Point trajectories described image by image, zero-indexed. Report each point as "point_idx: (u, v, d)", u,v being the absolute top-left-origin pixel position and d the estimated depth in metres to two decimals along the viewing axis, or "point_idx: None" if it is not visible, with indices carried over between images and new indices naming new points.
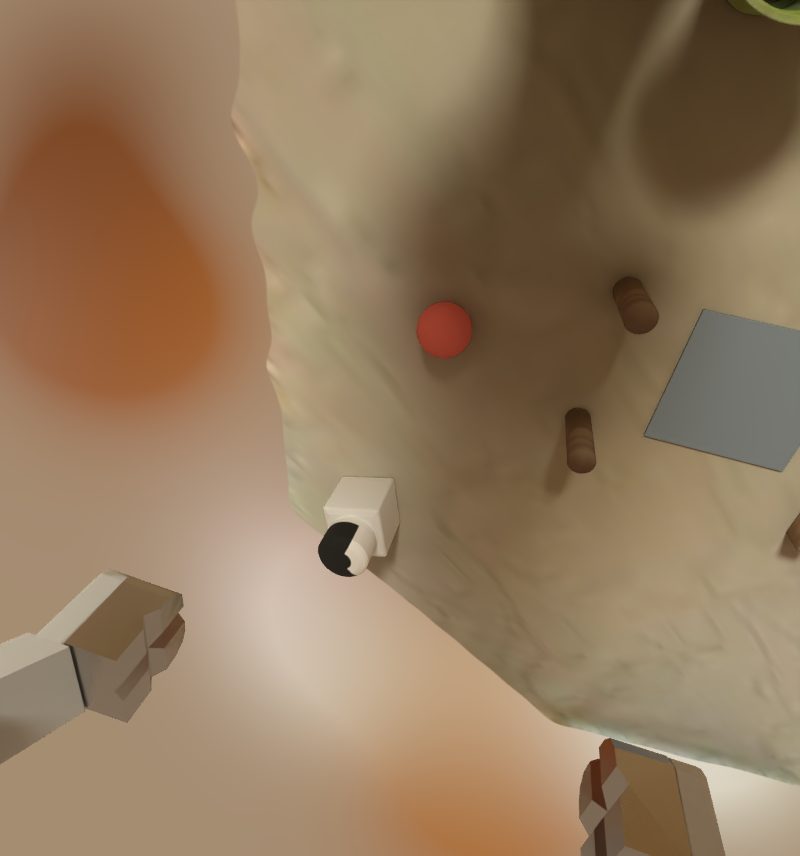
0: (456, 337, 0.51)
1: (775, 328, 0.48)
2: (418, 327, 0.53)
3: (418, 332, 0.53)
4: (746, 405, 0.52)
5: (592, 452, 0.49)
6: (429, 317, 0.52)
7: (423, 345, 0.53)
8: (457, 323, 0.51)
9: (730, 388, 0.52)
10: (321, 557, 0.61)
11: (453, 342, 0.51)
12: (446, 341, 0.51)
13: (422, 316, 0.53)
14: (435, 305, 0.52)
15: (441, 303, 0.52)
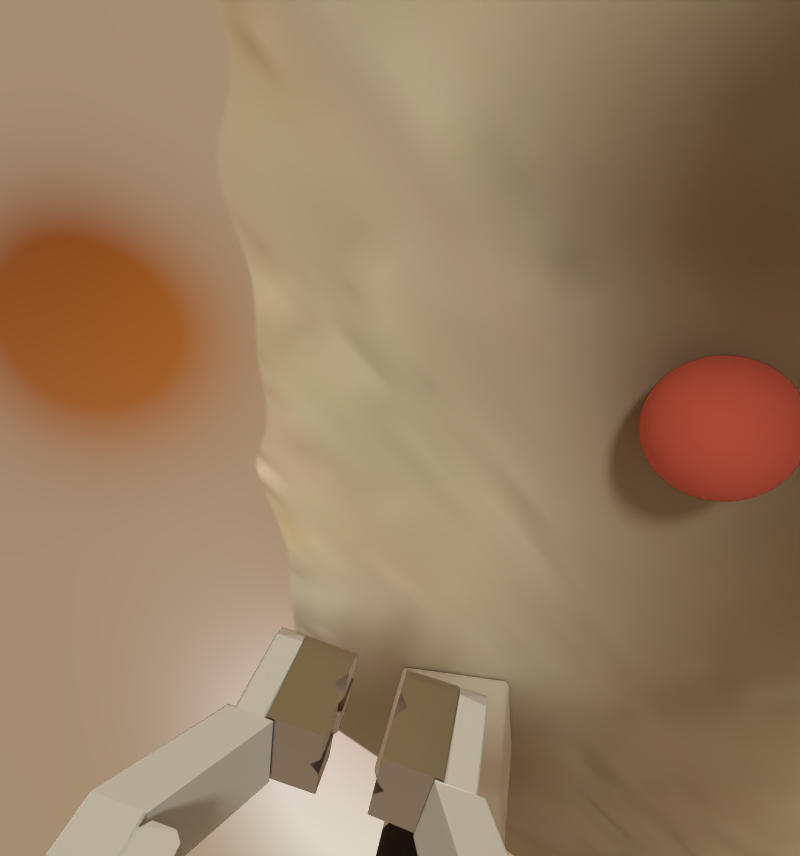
0: (788, 461, 0.18)
1: None
2: (660, 425, 0.20)
3: (659, 438, 0.20)
4: None
5: None
6: (706, 402, 0.18)
7: (672, 472, 0.20)
8: (795, 422, 0.18)
9: None
10: None
11: (777, 474, 0.18)
12: (759, 472, 0.18)
13: (675, 396, 0.19)
14: (714, 367, 0.19)
15: (730, 361, 0.19)
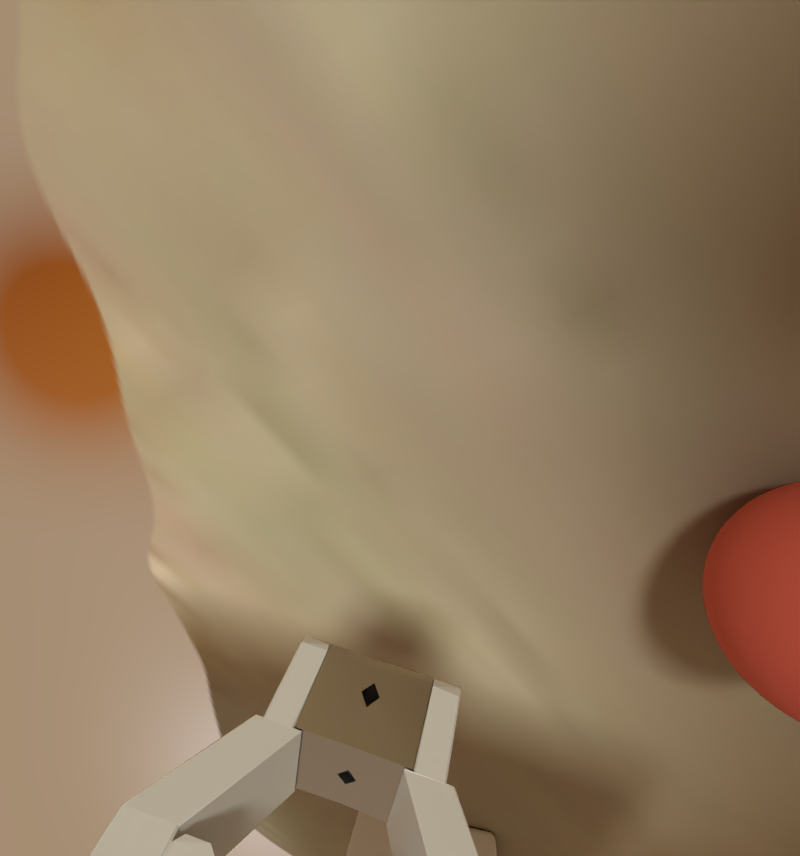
0: None
1: None
2: (753, 611, 0.11)
3: (750, 633, 0.11)
4: None
5: None
6: None
7: (770, 691, 0.11)
8: None
9: None
10: None
11: None
12: None
13: (782, 565, 0.11)
14: None
15: None
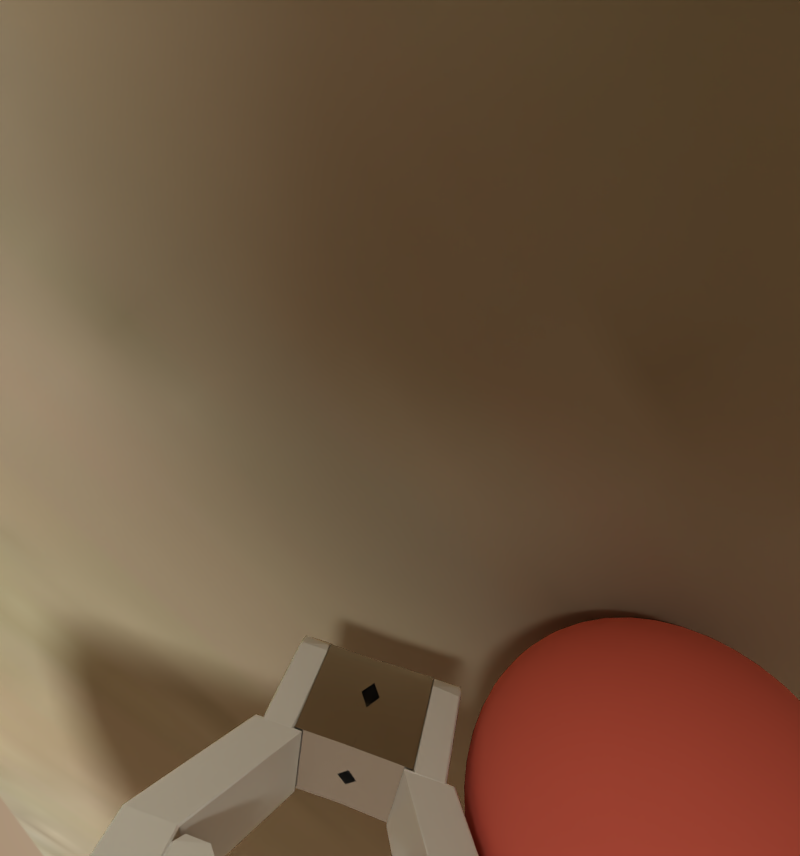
0: None
1: None
2: None
3: None
4: None
5: None
6: None
7: None
8: None
9: None
10: None
11: None
12: None
13: None
14: (676, 837, 0.06)
15: (689, 776, 0.06)
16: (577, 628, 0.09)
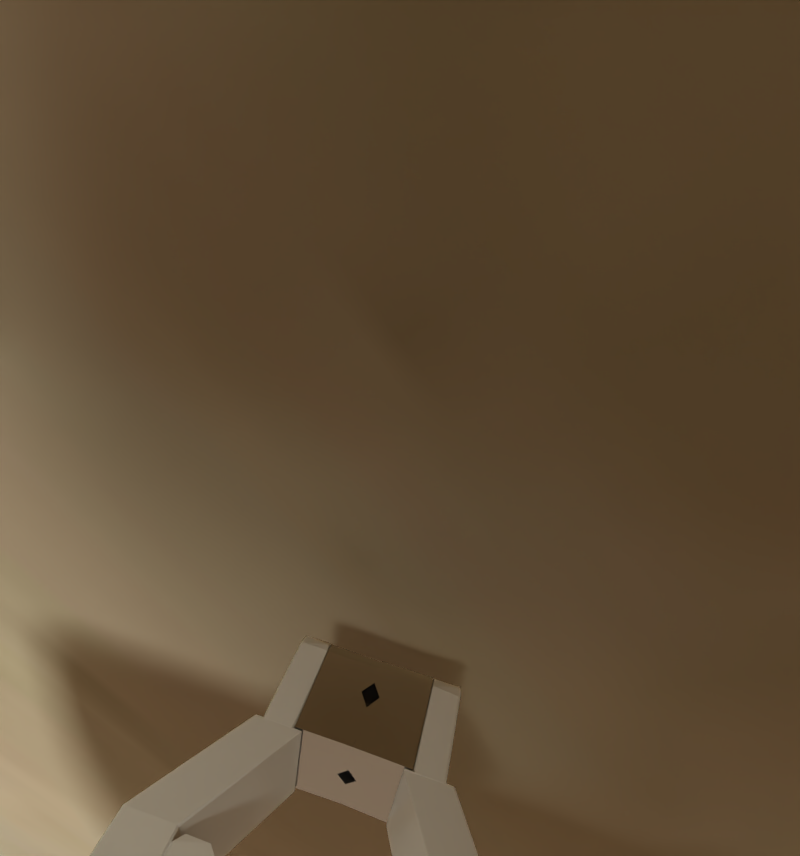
0: None
1: None
2: None
3: None
4: None
5: None
6: None
7: None
8: None
9: None
10: None
11: None
12: None
13: None
14: None
15: None
16: None
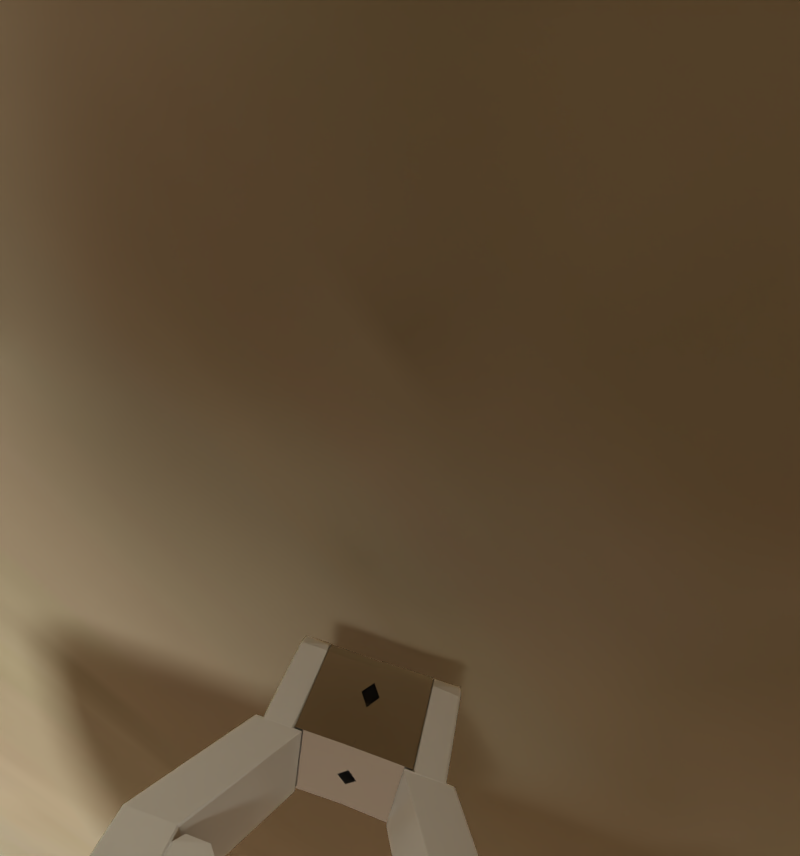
0: None
1: None
2: None
3: None
4: None
5: None
6: None
7: None
8: None
9: None
10: None
11: None
12: None
13: None
14: None
15: None
16: None
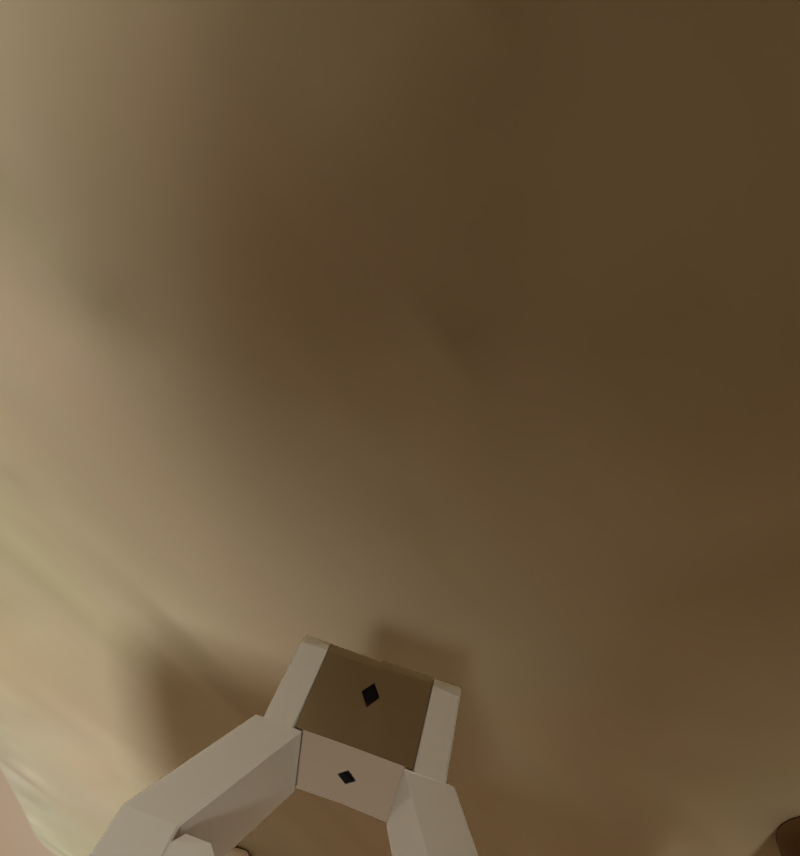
0: None
1: None
2: None
3: None
4: None
5: None
6: None
7: None
8: None
9: None
10: None
11: None
12: None
13: None
14: None
15: None
16: None
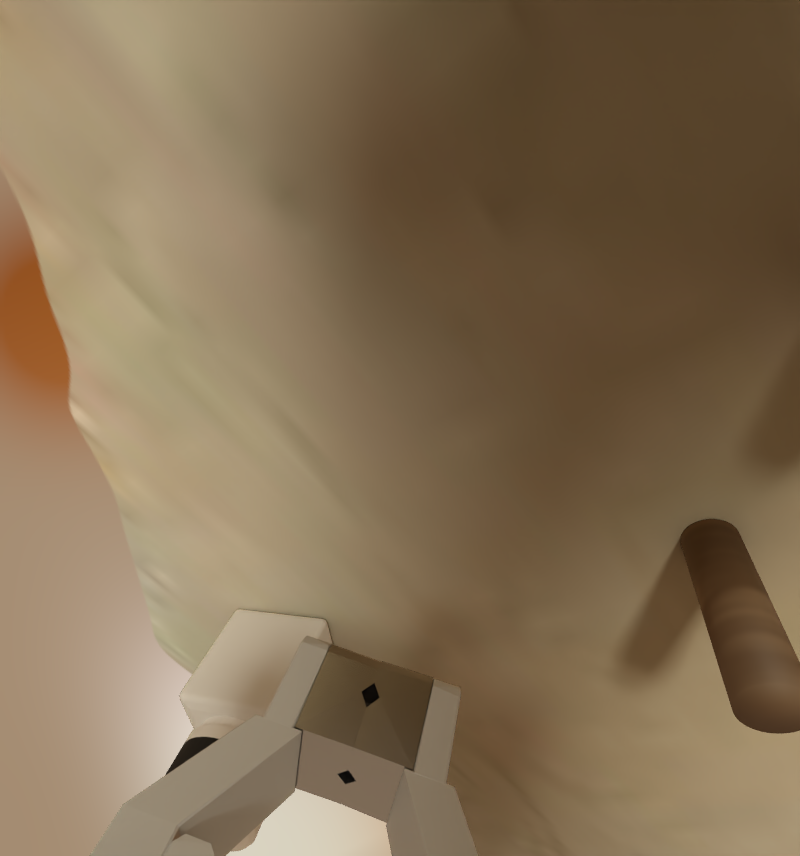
0: None
1: None
2: None
3: None
4: None
5: None
6: None
7: None
8: None
9: None
10: None
11: None
12: None
13: None
14: None
15: None
16: None
